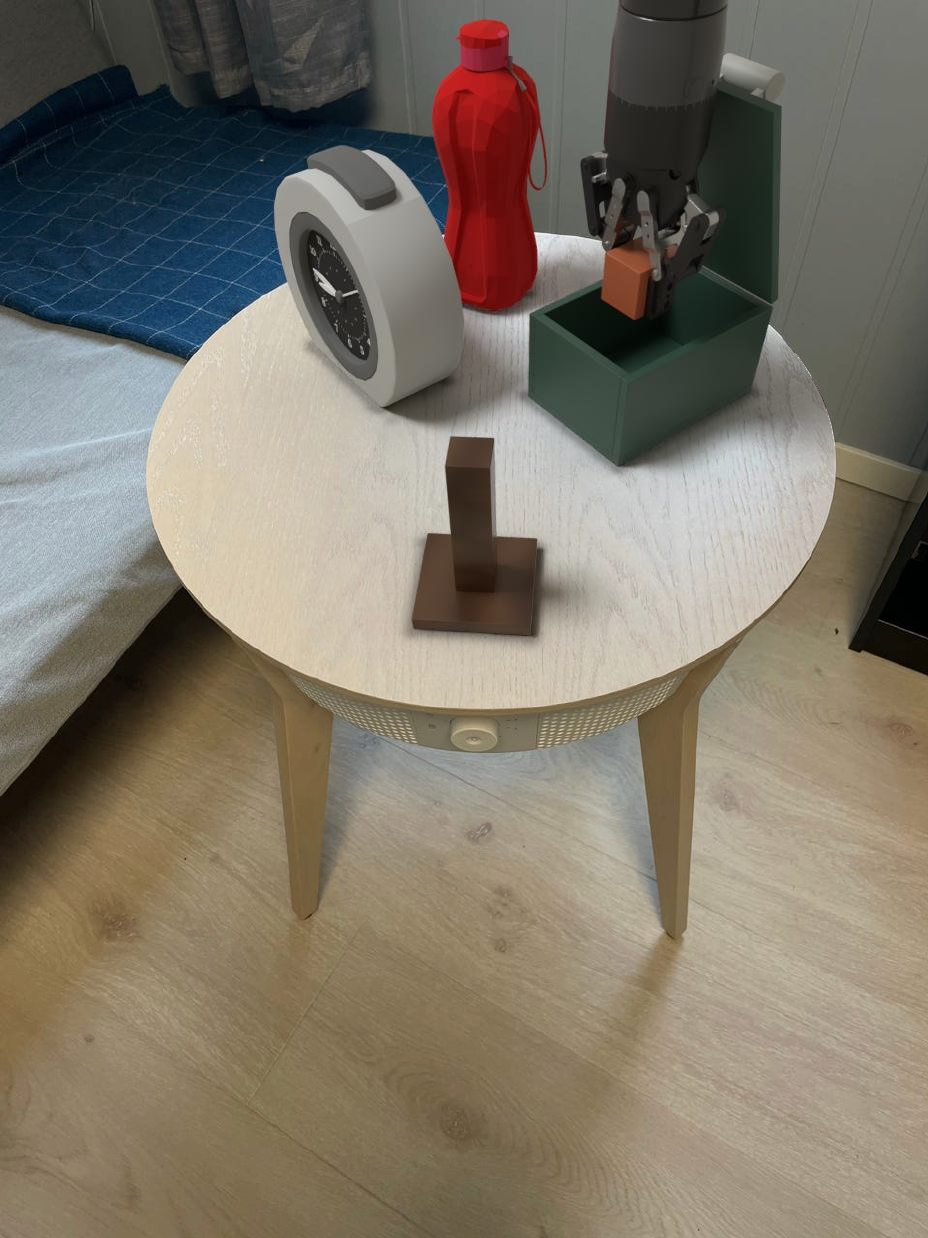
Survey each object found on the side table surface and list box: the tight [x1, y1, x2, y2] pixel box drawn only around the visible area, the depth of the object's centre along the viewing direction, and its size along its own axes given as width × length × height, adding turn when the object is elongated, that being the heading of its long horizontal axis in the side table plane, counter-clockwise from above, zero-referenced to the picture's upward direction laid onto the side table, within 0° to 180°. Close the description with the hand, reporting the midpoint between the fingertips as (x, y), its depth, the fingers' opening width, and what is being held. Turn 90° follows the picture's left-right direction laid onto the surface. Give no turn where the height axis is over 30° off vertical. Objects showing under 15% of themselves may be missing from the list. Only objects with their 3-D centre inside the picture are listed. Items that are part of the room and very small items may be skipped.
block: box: [601, 235, 668, 320], centre depth 71 cm, size 4×4×4 cm
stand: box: [411, 435, 538, 636], centre depth 62 cm, size 9×9×14 cm
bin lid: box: [664, 52, 786, 305], centre depth 69 cm, size 18×13×5 cm
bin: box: [527, 266, 774, 467], centre depth 78 cm, size 17×13×9 cm
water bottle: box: [431, 18, 548, 312], centre depth 83 cm, size 9×11×25 cm
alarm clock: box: [273, 145, 465, 408], centre depth 79 cm, size 21×8×20 cm, turn 36°
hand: (635, 301), depth 72 cm, fingers closed on block, 4 cm apart
